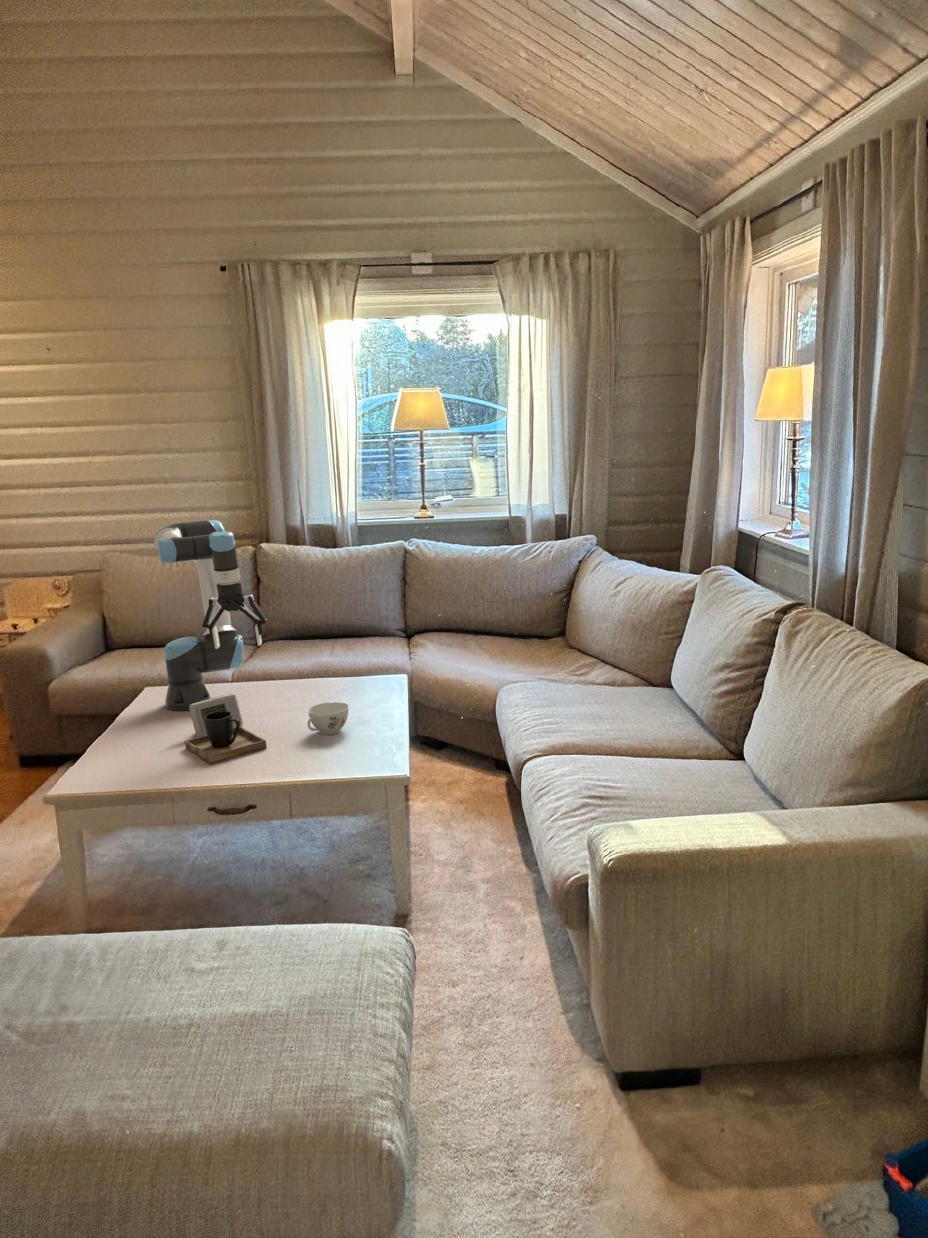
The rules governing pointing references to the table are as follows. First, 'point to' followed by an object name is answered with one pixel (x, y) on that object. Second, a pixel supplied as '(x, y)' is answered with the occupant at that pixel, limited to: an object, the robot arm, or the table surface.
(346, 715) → the teacup
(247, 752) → the walnut tray
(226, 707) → the digital clock
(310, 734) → the table surface
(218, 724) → the mug
